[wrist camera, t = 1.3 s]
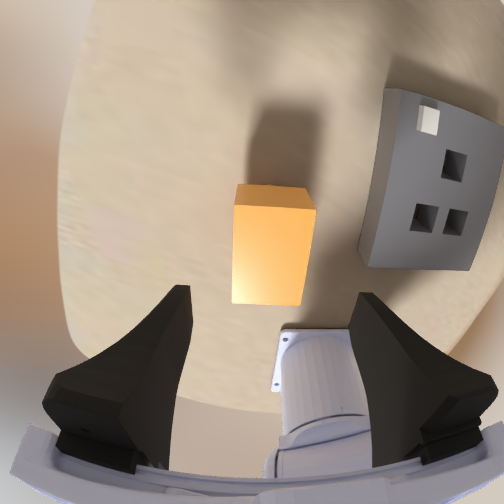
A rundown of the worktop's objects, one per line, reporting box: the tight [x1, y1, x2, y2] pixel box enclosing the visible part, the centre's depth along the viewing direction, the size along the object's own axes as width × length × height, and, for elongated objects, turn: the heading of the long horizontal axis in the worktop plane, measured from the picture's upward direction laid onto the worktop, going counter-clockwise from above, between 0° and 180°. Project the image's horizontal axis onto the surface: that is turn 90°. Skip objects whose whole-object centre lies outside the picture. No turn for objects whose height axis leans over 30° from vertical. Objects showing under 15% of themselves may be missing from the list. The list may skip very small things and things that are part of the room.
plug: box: [232, 184, 316, 306], centre depth 18 cm, size 6×4×6 cm, turn 177°
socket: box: [357, 88, 504, 271], centre depth 18 cm, size 12×10×3 cm
